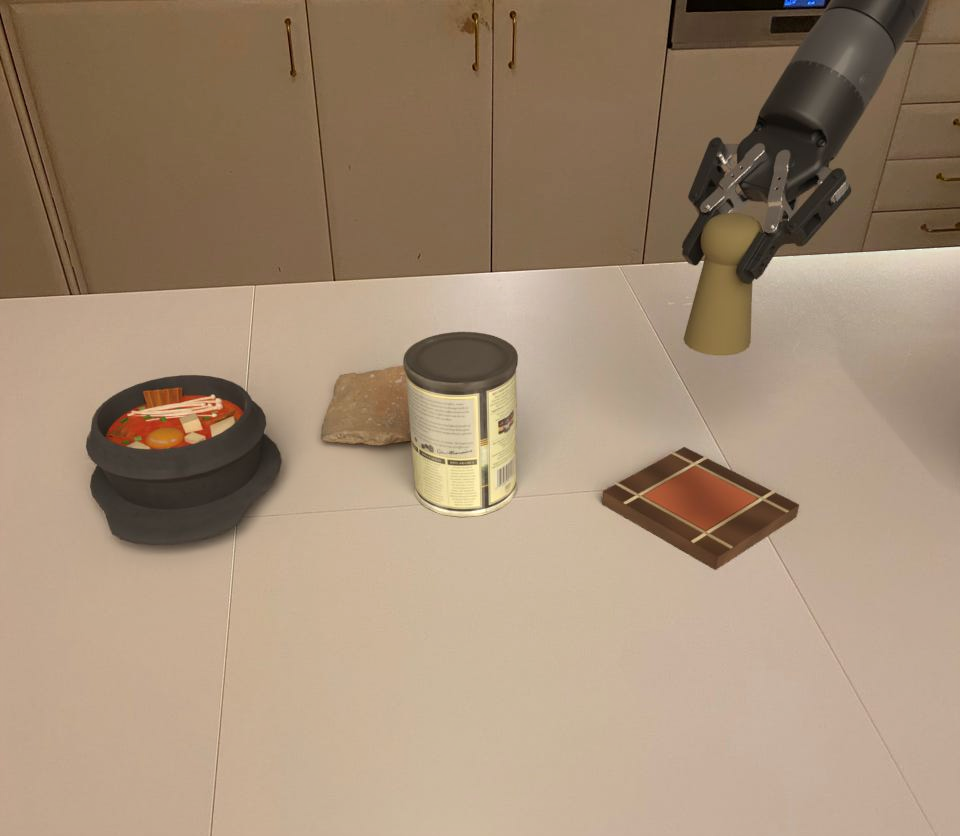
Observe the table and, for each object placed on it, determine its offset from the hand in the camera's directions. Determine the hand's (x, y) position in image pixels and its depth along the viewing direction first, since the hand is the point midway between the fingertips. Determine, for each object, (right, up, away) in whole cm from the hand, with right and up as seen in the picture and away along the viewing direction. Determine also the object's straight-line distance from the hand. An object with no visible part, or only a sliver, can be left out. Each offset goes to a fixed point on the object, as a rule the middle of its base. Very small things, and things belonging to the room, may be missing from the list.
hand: (714, 268), depth 85 cm
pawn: (+2, -5, +6) cm, 8 cm away
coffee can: (-22, -17, +13) cm, 31 cm away
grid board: (+1, -20, +9) cm, 22 cm away
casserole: (-49, -17, +14) cm, 54 cm away
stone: (-31, -8, +24) cm, 40 cm away
